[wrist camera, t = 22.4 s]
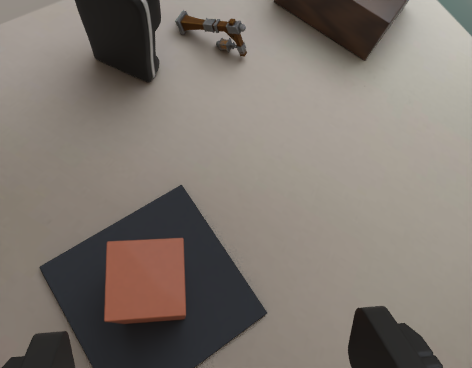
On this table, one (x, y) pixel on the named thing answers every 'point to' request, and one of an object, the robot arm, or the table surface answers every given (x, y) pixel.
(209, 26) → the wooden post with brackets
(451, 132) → the table surface
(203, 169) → the table surface
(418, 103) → the table surface
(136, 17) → the battery charger
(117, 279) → the small box
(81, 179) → the table surface
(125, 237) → the mat
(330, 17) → the storage box
